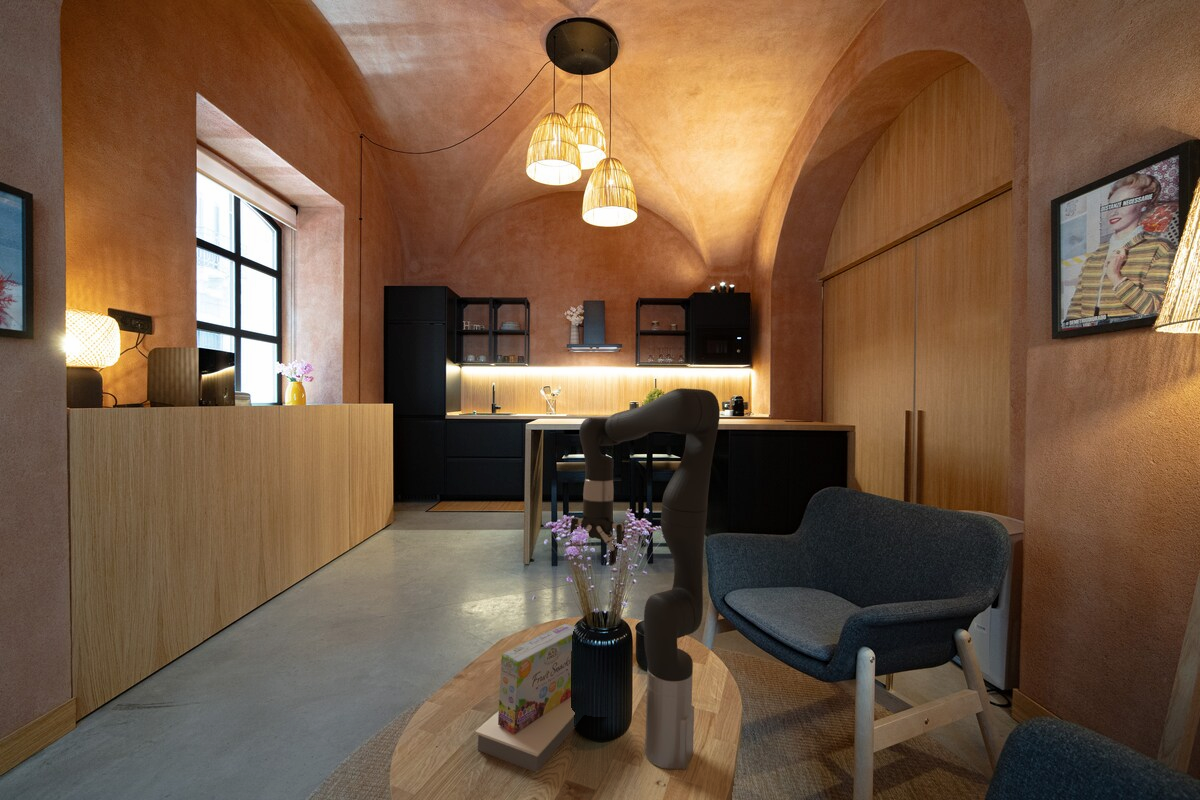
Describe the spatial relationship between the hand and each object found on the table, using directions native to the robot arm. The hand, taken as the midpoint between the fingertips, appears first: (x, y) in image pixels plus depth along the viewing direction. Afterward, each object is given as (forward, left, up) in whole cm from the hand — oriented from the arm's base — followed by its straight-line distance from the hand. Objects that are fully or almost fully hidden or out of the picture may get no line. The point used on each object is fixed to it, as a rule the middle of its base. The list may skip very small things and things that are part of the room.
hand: (596, 562), depth 130 cm
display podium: (+4, +18, -32) cm, 37 cm away
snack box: (+4, +18, -28) cm, 34 cm away
